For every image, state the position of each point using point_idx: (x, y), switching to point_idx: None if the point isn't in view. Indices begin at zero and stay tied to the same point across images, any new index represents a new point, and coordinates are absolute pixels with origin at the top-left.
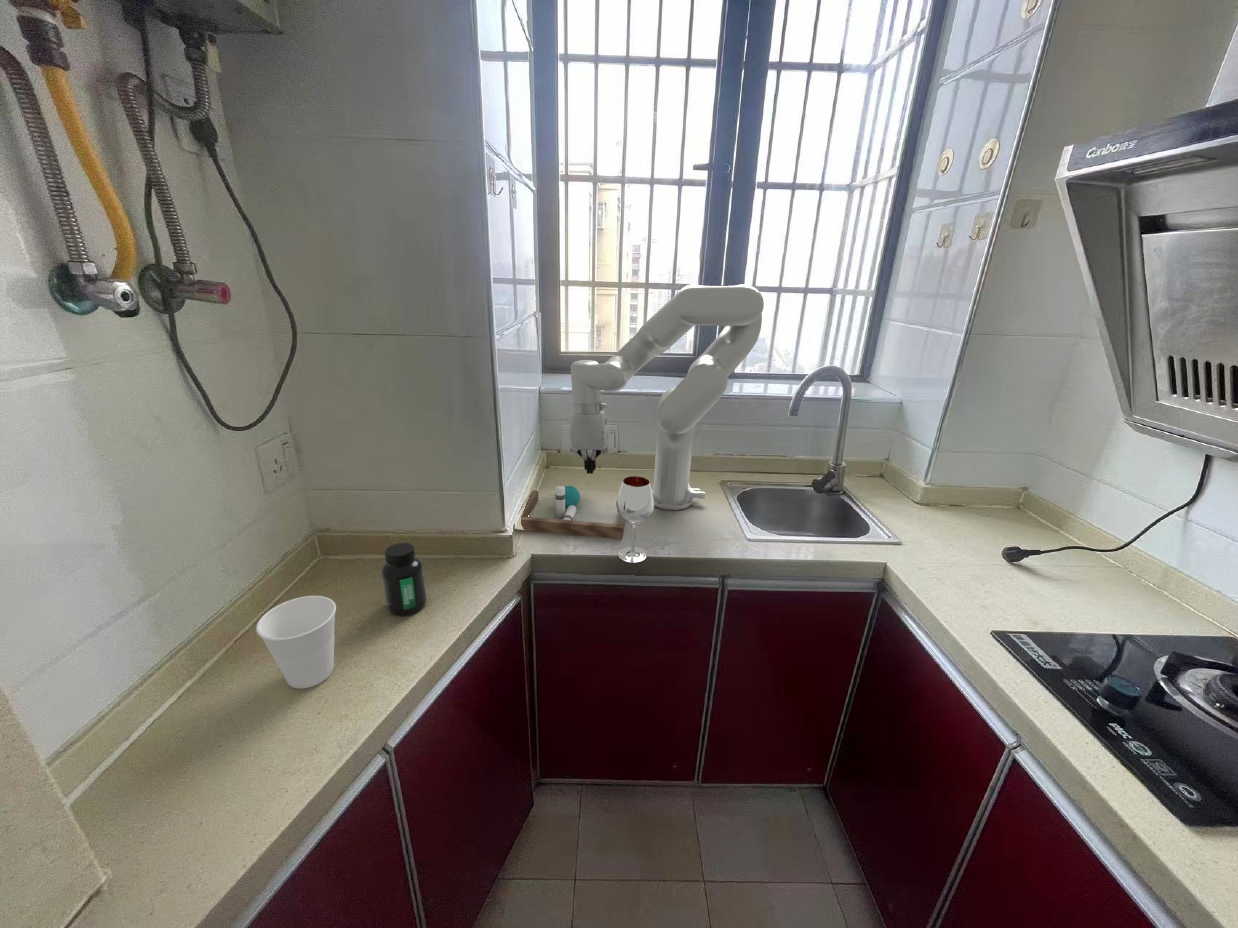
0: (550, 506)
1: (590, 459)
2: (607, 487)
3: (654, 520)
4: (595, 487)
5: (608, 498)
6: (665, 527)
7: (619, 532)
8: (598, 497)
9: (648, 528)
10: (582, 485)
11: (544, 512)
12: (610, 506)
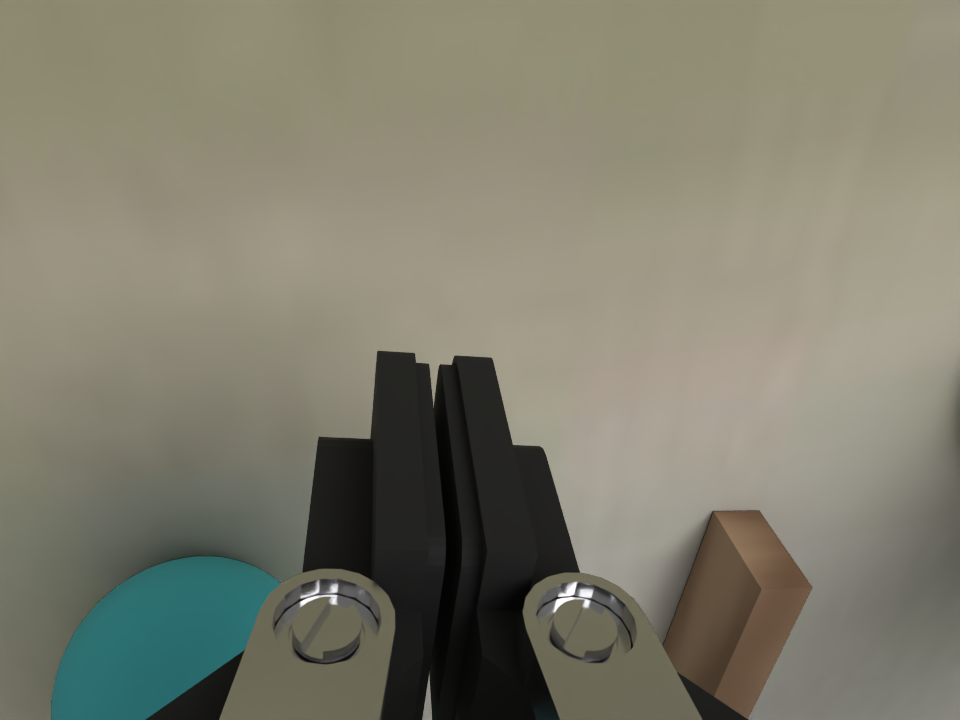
0: (15, 601)
1: (460, 710)
2: (626, 54)
3: (888, 633)
4: (454, 69)
5: (605, 366)
6: (919, 687)
7: None
8: (497, 358)
9: (812, 714)
10: (242, 4)
11: (9, 693)
12: (607, 512)
